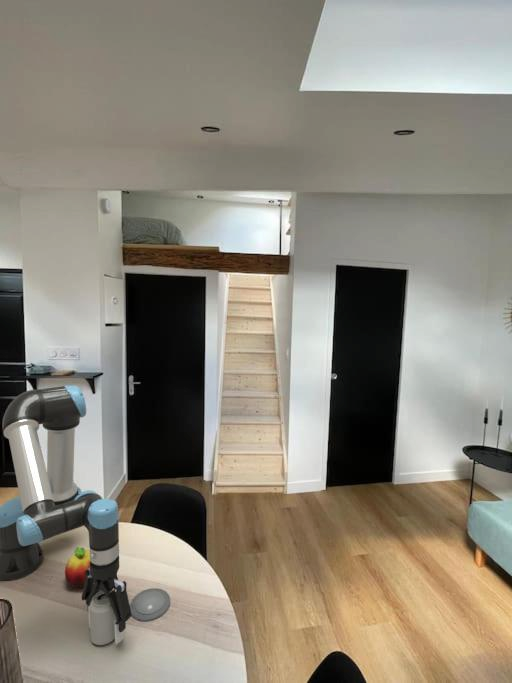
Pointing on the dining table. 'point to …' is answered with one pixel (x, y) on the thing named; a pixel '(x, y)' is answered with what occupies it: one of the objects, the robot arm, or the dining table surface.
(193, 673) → the dining table surface
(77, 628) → the dining table surface
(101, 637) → the can
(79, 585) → the fruit
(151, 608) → the saucer
